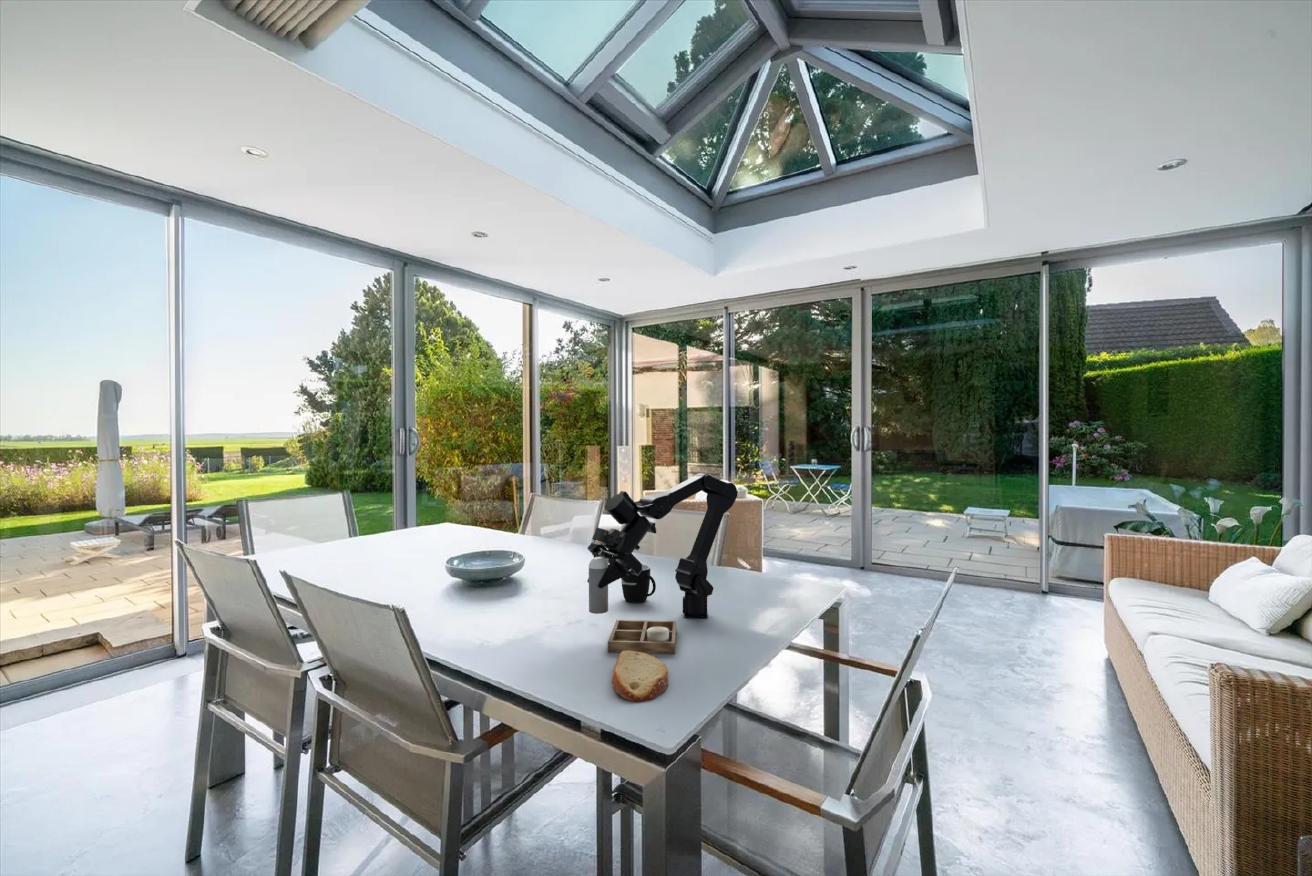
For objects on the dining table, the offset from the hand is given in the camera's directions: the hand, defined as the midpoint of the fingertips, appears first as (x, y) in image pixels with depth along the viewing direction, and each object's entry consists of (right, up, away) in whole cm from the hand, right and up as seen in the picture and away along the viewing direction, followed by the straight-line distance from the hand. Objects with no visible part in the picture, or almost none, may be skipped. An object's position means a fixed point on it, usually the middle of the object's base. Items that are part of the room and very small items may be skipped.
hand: (593, 585), depth 141 cm
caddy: (+12, -13, -1) cm, 18 cm away
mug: (+10, -13, +32) cm, 36 cm away
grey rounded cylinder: (+1, -7, +1) cm, 7 cm away
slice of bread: (+11, -14, -22) cm, 28 cm away
